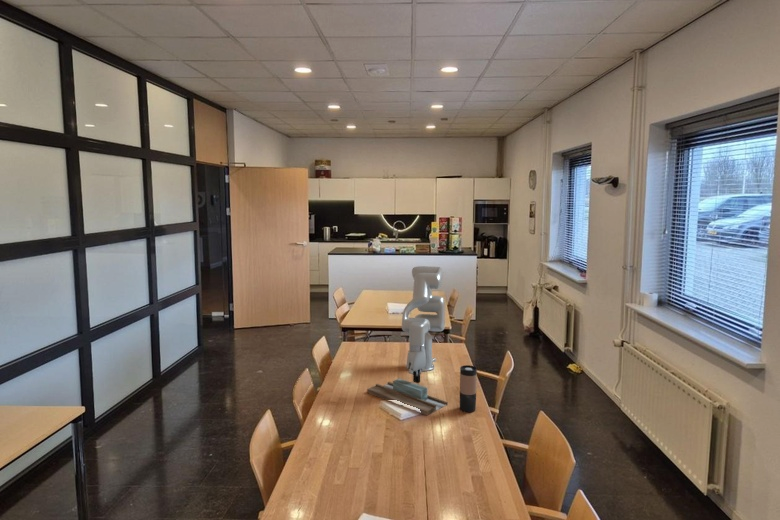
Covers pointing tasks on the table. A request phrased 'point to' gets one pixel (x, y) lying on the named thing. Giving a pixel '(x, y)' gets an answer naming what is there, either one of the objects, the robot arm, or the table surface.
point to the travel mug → (468, 388)
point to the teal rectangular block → (410, 389)
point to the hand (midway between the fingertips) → (416, 382)
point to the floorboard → (407, 398)
